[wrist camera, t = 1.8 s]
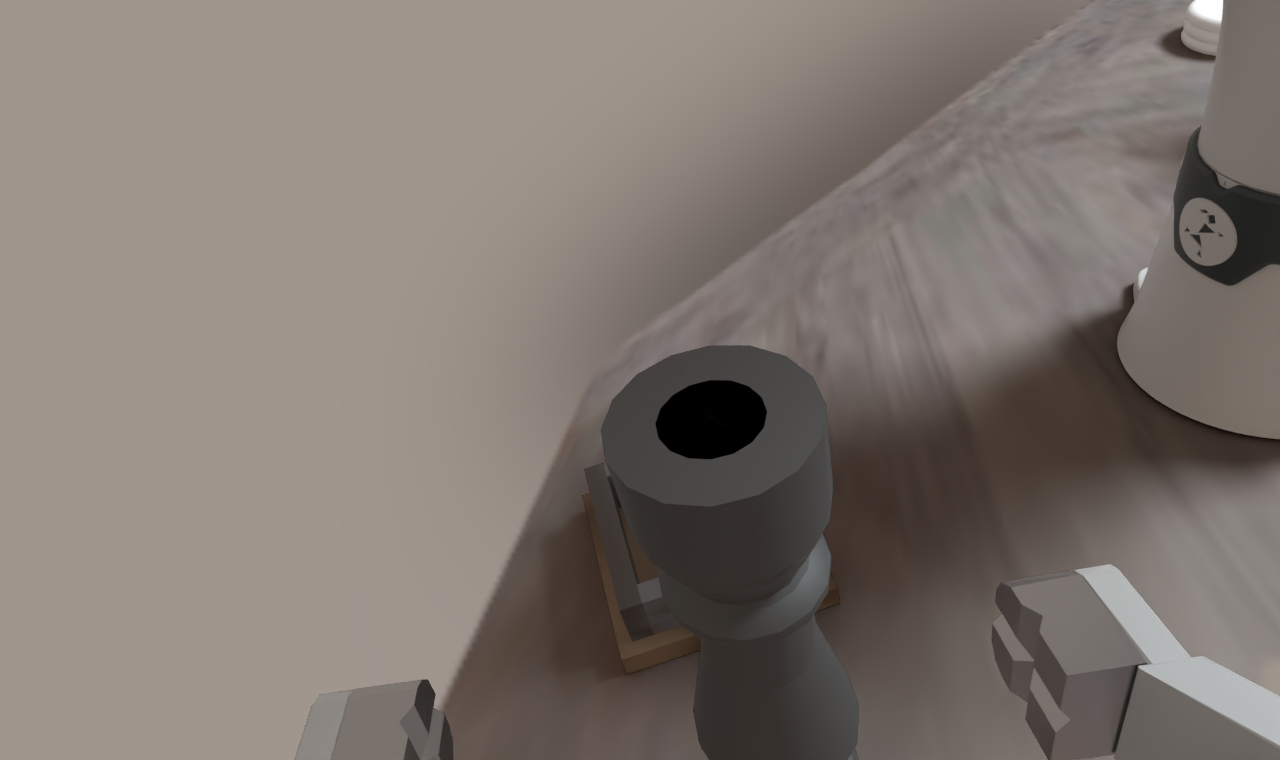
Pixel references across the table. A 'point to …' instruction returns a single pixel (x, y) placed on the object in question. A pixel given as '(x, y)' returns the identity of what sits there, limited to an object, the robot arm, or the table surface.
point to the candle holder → (739, 542)
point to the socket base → (637, 583)
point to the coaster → (1203, 26)
